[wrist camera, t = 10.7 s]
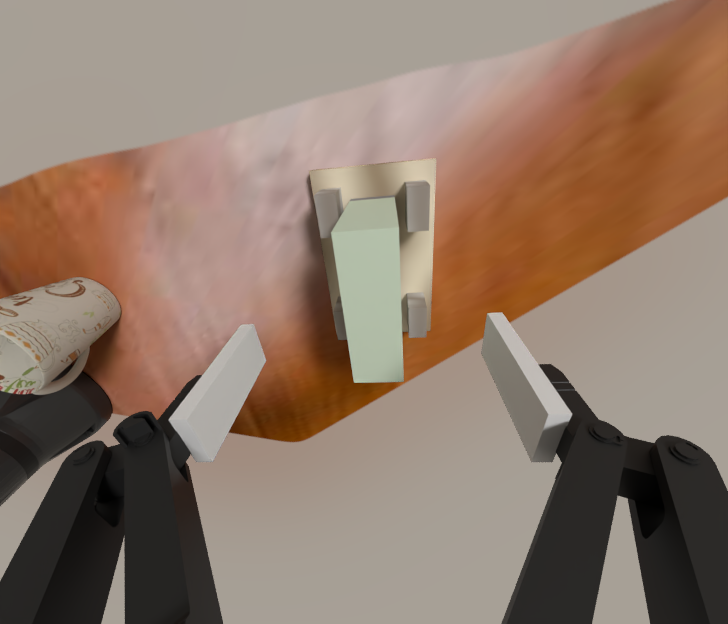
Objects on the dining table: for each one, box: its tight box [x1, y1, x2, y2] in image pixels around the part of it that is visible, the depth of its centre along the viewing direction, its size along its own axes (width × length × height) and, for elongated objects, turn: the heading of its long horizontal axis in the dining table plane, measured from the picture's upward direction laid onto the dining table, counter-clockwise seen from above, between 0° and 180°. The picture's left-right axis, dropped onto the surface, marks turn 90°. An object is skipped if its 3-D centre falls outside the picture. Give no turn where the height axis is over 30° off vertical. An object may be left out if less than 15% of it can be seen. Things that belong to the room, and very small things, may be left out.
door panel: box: [331, 195, 404, 383], centre depth 22 cm, size 4×11×10 cm, turn 6°
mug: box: [0, 277, 121, 395], centre depth 29 cm, size 8×13×10 cm, turn 165°
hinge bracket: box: [309, 158, 436, 340], centre depth 26 cm, size 10×16×4 cm, turn 5°
